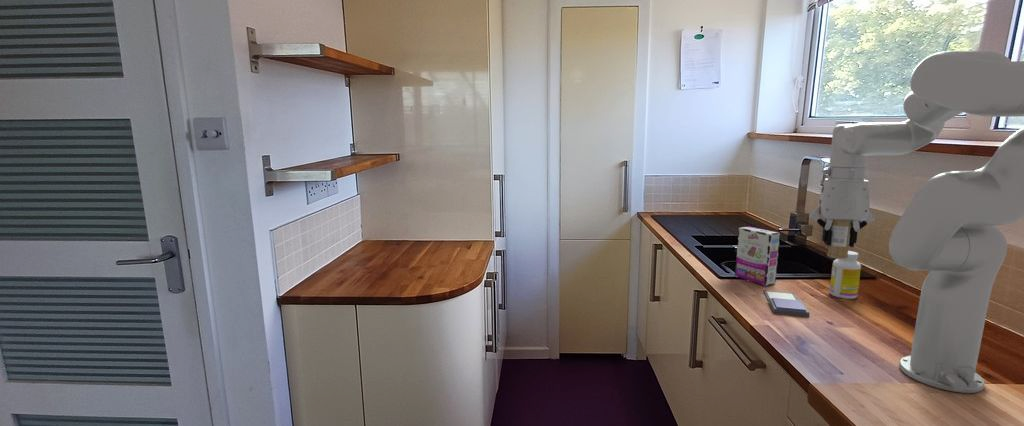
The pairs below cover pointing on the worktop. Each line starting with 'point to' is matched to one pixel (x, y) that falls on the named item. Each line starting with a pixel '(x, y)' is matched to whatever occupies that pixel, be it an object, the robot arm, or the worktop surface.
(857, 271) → the supplement bottle
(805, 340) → the worktop surface
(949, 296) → the robot arm
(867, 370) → the worktop surface
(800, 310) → the ink pad
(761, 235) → the candy bar box
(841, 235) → the sprinkles bottle
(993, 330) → the worktop surface
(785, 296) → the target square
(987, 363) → the worktop surface
